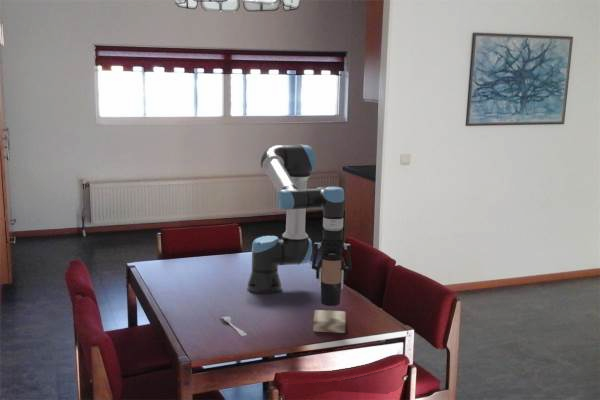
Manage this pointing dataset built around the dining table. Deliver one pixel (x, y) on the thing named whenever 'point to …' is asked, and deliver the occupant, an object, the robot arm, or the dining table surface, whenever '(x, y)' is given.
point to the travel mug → (331, 279)
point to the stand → (329, 321)
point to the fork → (234, 326)
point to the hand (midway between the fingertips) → (330, 287)
